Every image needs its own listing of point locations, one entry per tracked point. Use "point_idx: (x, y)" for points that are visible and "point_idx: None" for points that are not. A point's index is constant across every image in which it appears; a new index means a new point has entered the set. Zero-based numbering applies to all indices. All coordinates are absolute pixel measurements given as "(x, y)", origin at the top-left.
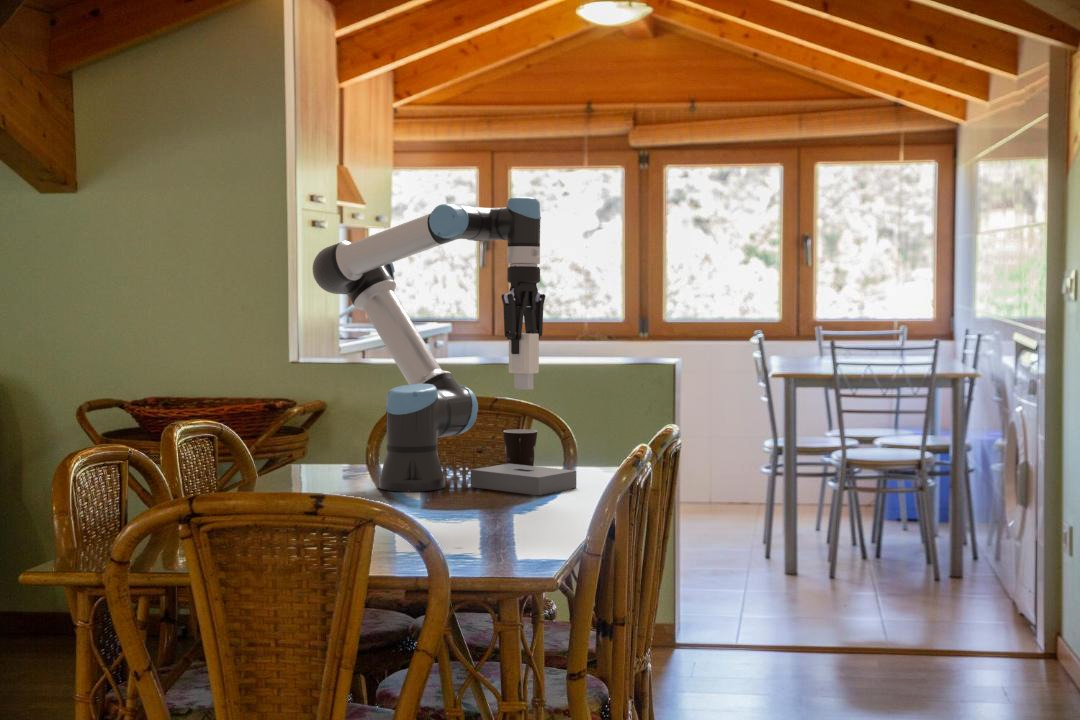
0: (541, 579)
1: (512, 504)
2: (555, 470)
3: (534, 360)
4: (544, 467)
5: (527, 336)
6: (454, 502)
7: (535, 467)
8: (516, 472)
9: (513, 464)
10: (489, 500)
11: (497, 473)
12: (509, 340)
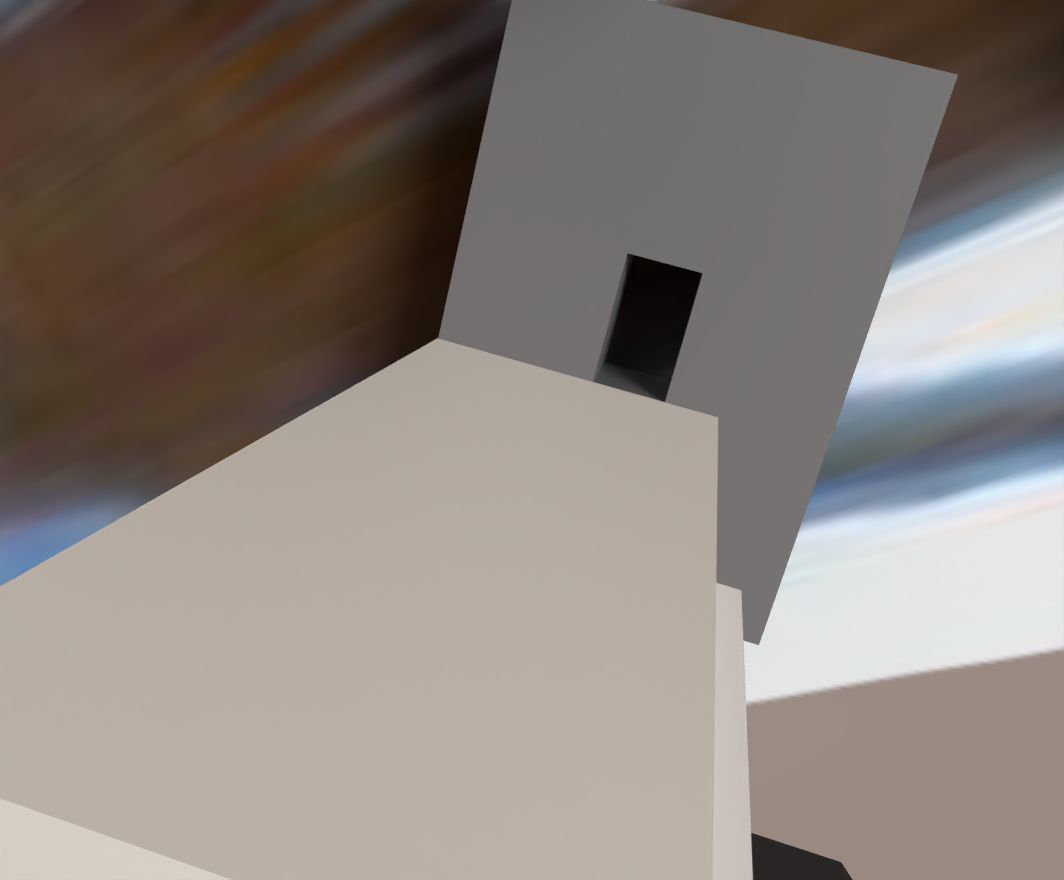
0: None
1: (132, 480)
2: (718, 524)
3: None
4: (834, 407)
5: None
6: (37, 190)
7: (809, 351)
8: (528, 330)
9: (911, 133)
10: (174, 328)
11: (465, 221)
12: (44, 600)
